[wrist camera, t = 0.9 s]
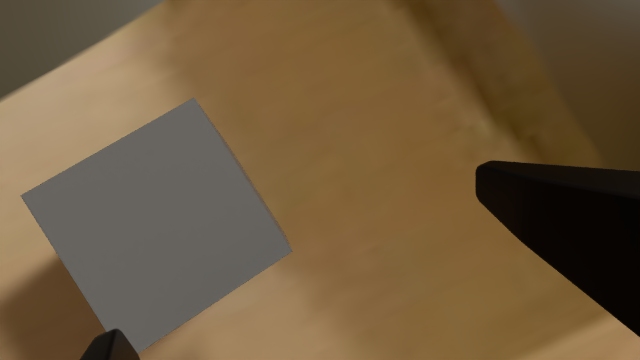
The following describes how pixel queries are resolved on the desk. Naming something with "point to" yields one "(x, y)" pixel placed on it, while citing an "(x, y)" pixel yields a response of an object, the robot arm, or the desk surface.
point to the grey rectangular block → (158, 225)
